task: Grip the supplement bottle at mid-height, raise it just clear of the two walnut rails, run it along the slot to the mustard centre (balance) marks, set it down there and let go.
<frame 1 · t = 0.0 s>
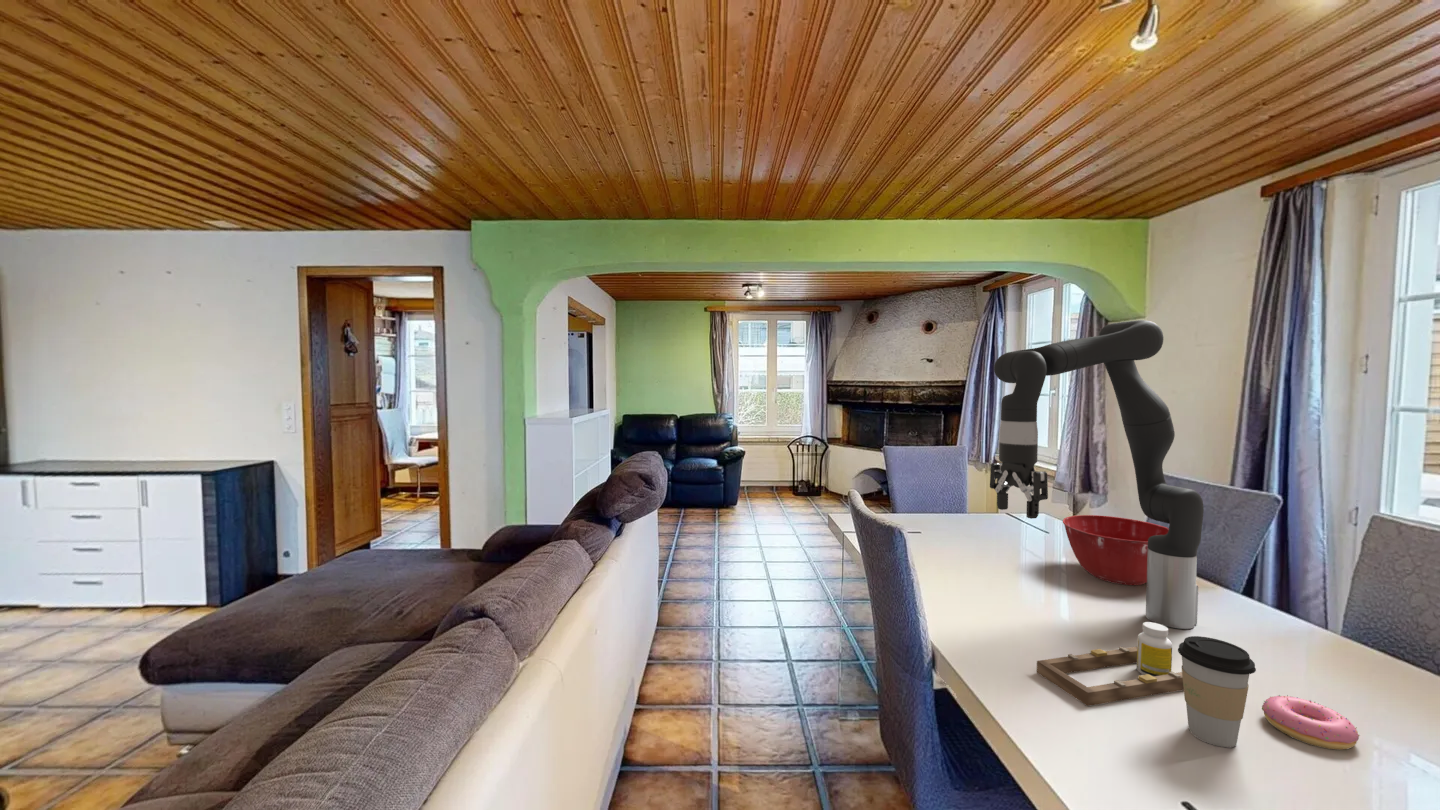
hand: (1016, 513, 120), 29 cm above the table, fingers open, 8 cm apart
mixing bowl: (1117, 577, 162), on the table
slotted beam: (1121, 679, 106), on the table
coffee cup: (1212, 737, 89), on the table
supplement bottle: (1153, 675, 108), on the table
doughnut: (1307, 734, 90), on the table
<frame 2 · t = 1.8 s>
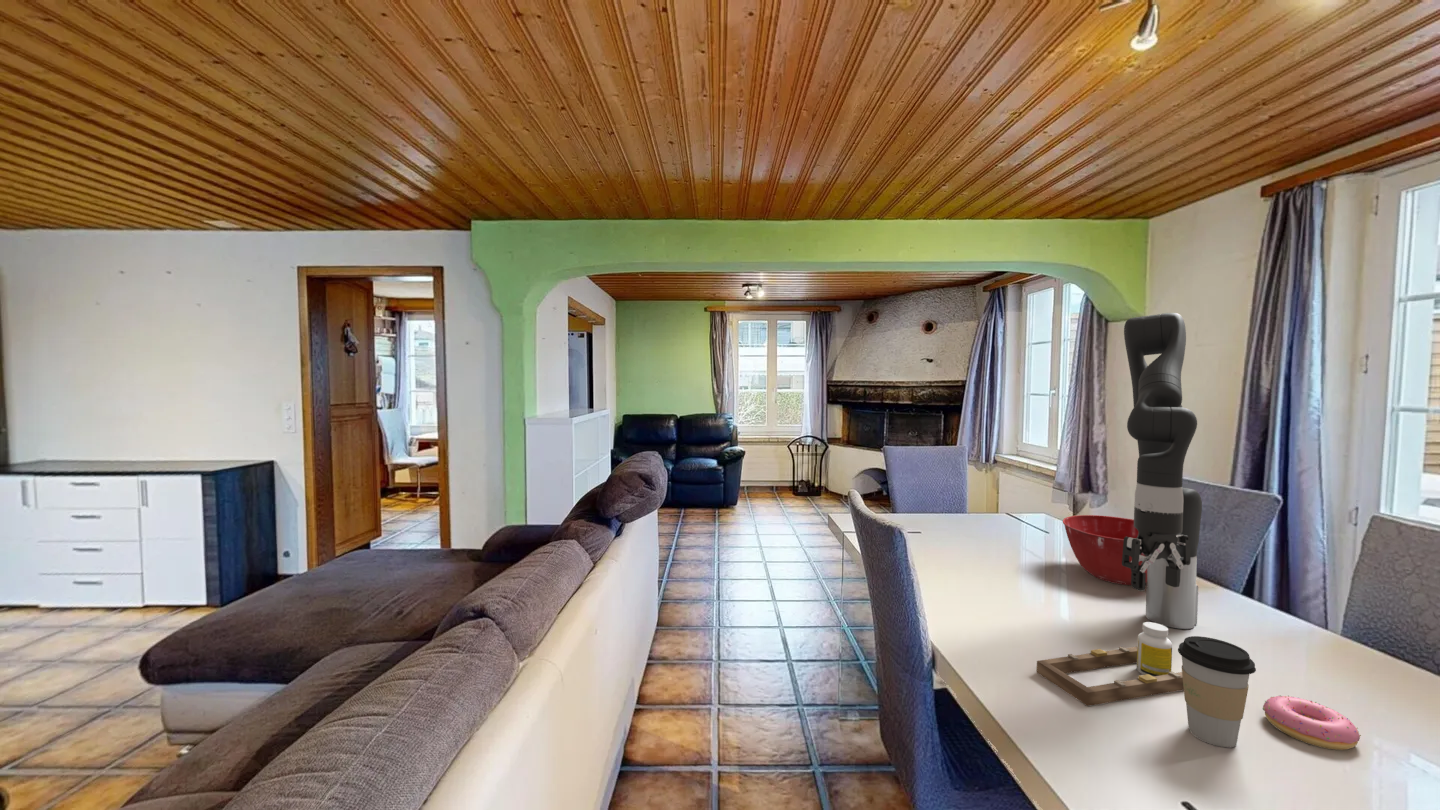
hand: (1155, 587, 107), 18 cm above the table, fingers open, 8 cm apart
nothing on the table moved.
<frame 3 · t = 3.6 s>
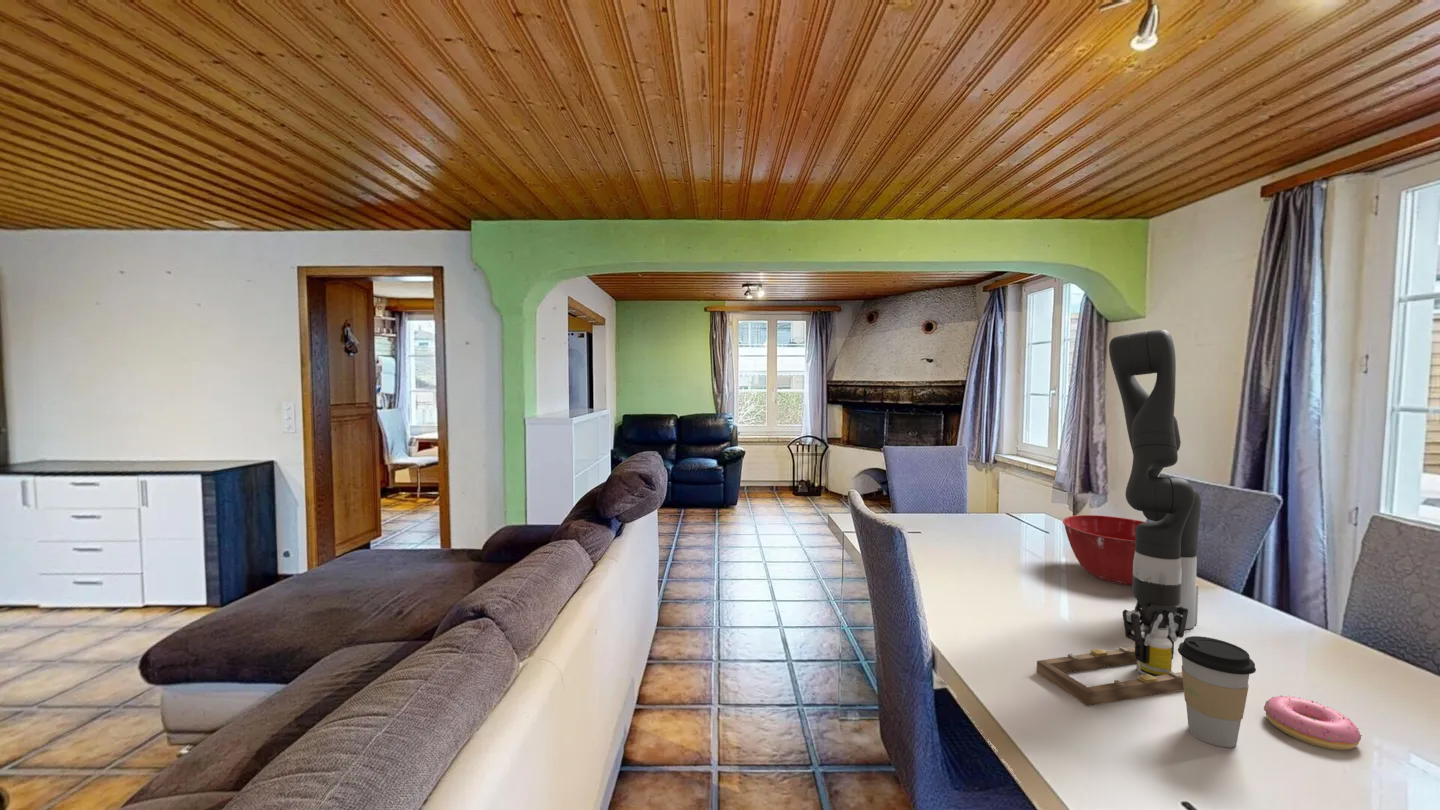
hand: (1154, 659, 108), 3 cm above the table, fingers closed on supplement bottle, 5 cm apart
supplement bottle: (1153, 675, 108), on the table, touching gripper
everything else where it was.
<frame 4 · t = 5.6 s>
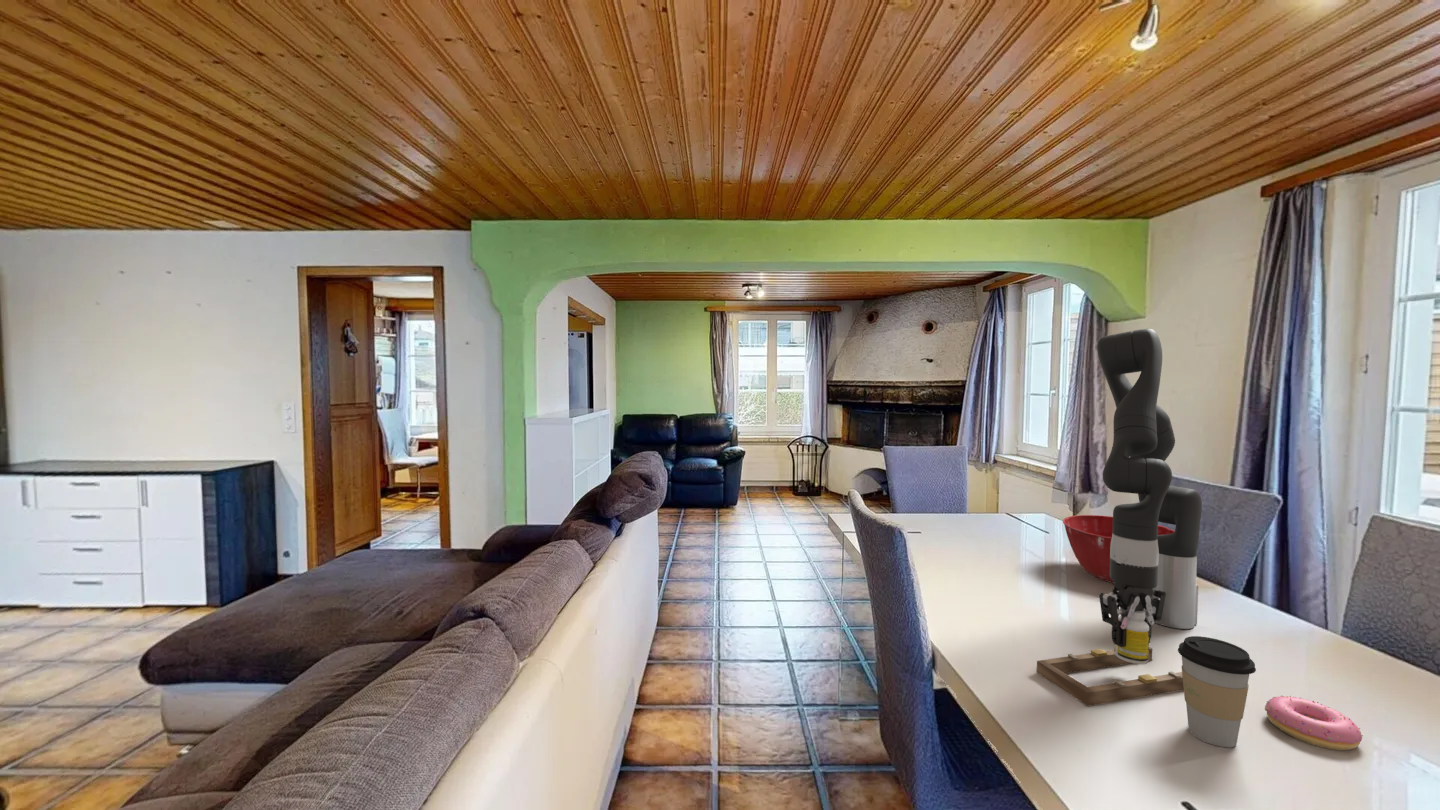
hand: (1131, 643, 106), 7 cm above the table, fingers closed on supplement bottle, 5 cm apart
supplement bottle: (1130, 659, 106), point 4 cm above the table, touching gripper
everything else where it was.
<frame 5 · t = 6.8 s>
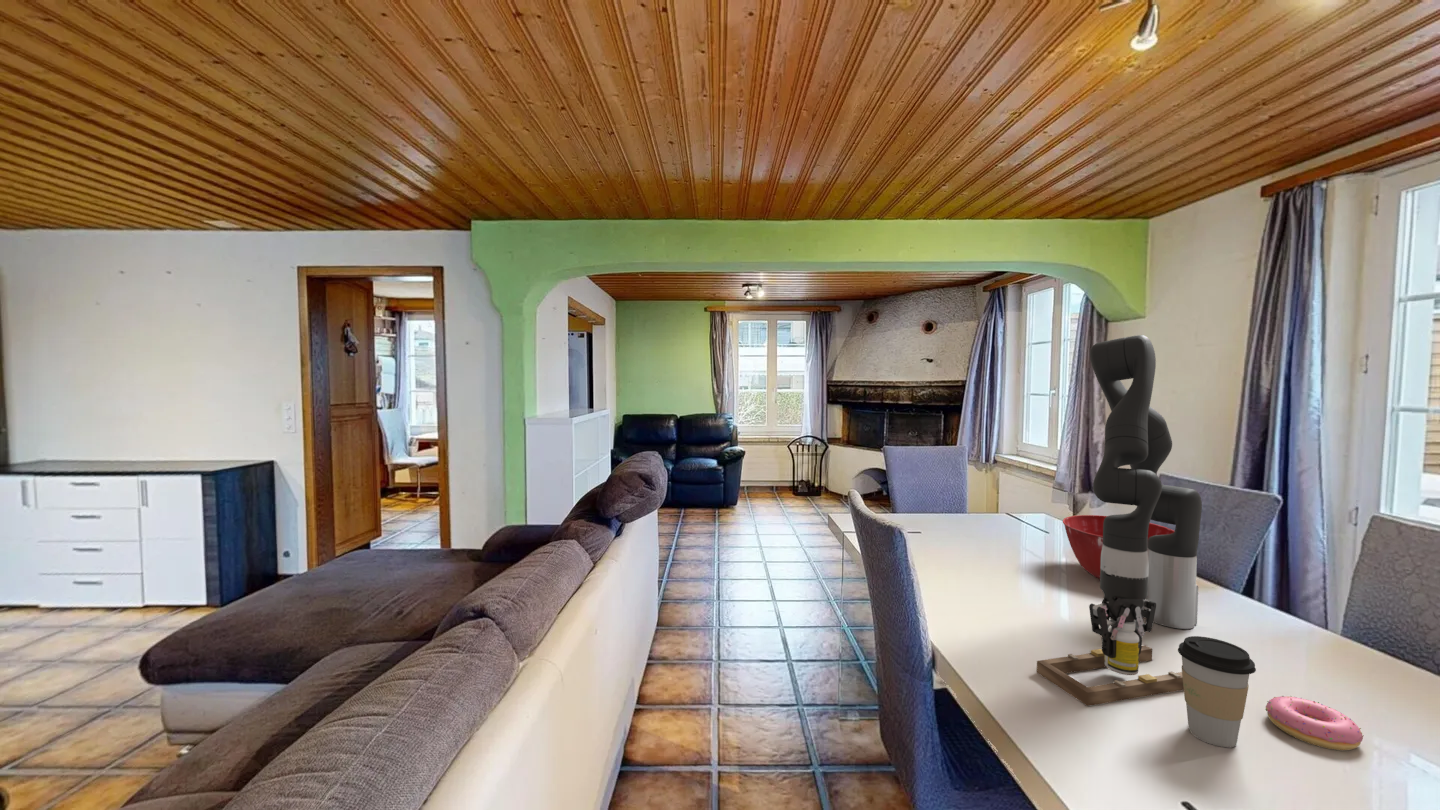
hand: (1121, 654, 106), 5 cm above the table, fingers closed on supplement bottle, 5 cm apart
supplement bottle: (1121, 670, 106), point 2 cm above the table, touching gripper
everything else where it was.
when the fingers open (4 cm above the table, at t = 7.9 s): supplement bottle stays where it is, on the table.
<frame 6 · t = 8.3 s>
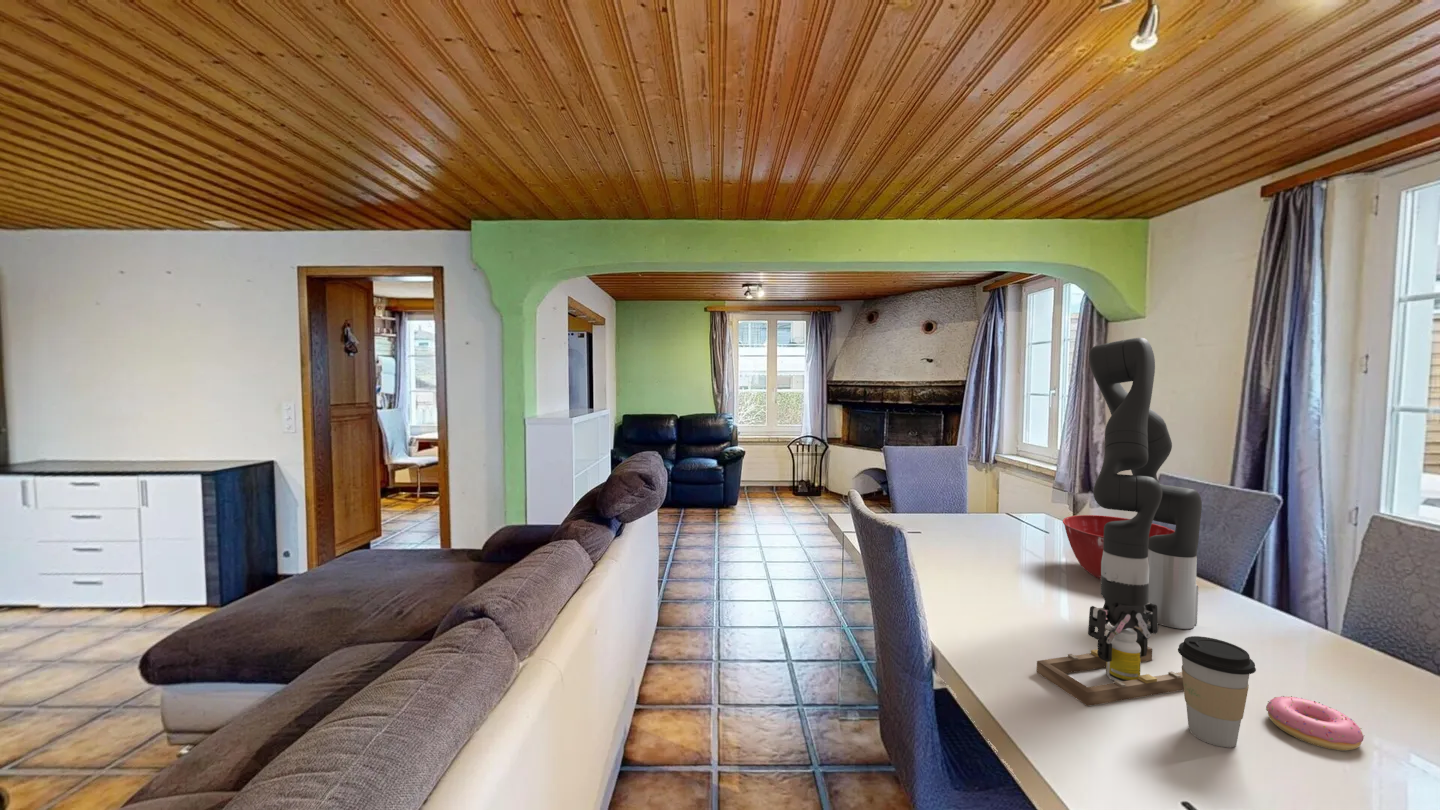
hand: (1122, 657, 106), 4 cm above the table, fingers open, 8 cm apart
supplement bottle: (1122, 679, 106), on the table
everything else where it was.
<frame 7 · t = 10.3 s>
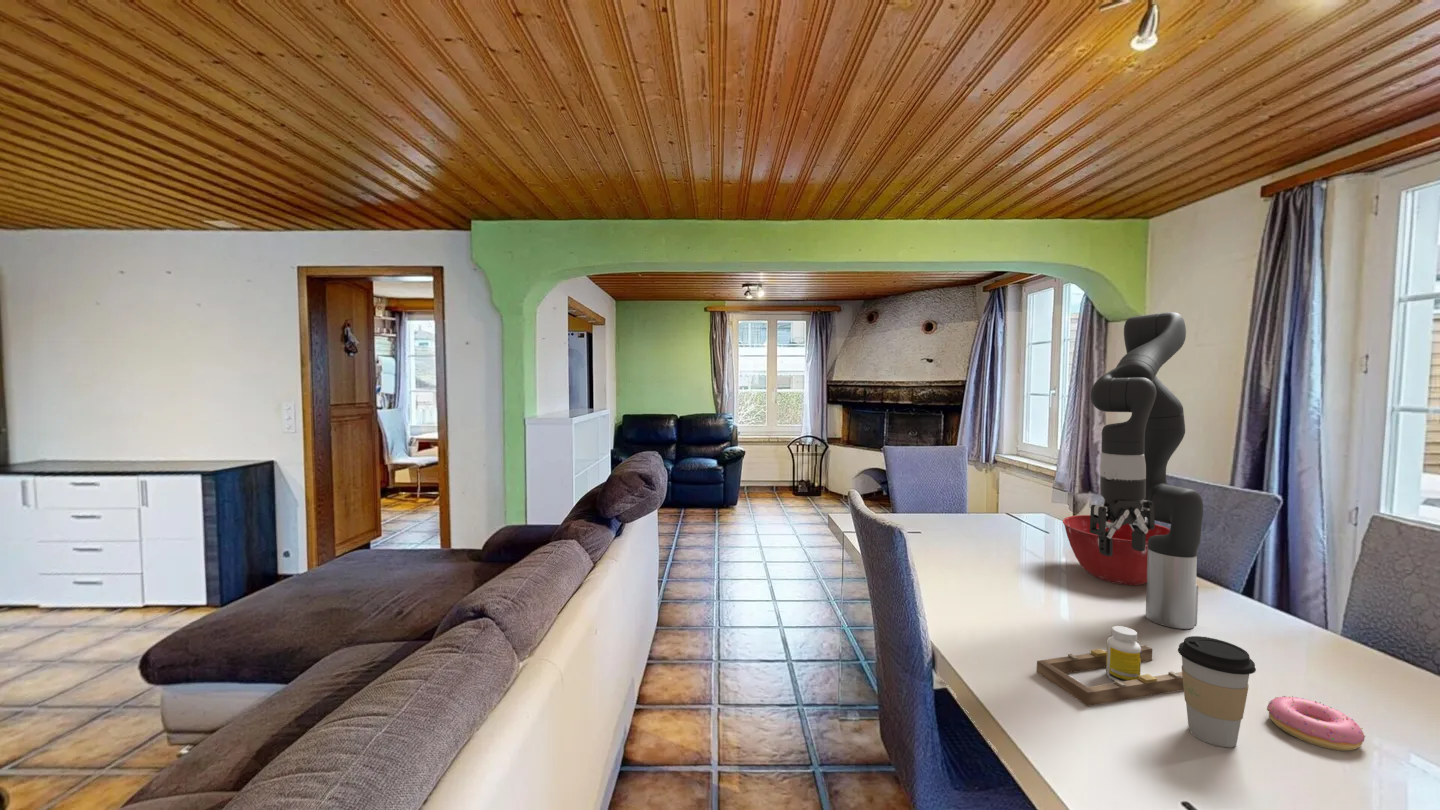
hand: (1122, 552, 111), 23 cm above the table, fingers open, 8 cm apart
nothing on the table moved.
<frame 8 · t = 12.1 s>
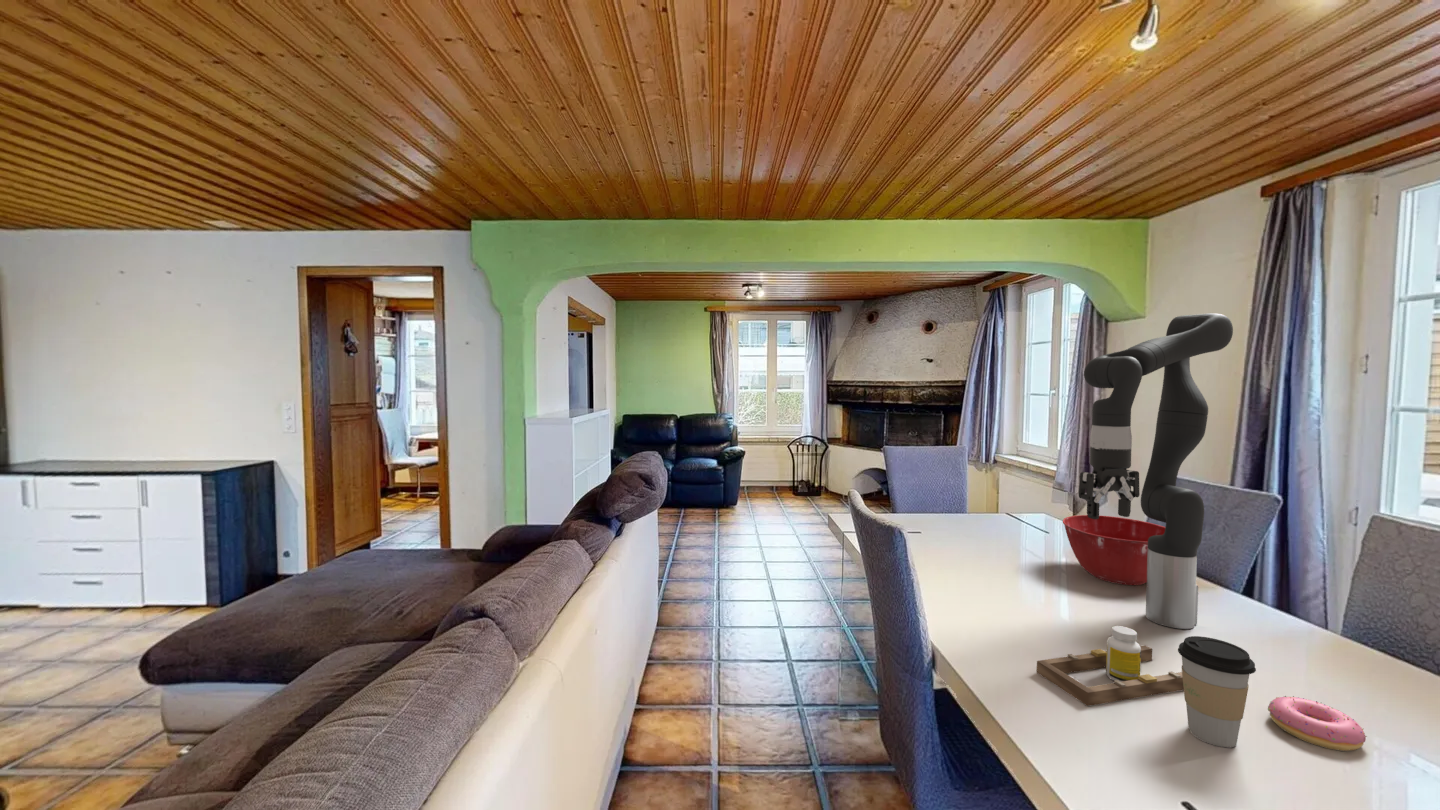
hand: (1108, 517, 121), 28 cm above the table, fingers open, 8 cm apart
nothing on the table moved.
at the end: supplement bottle inside the target area on the slotted beam (0.3 cm from its centre), point 0.0 cm above the slotted beam's base; supplement bottle tilted 0°; the gripper is holding nothing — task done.
